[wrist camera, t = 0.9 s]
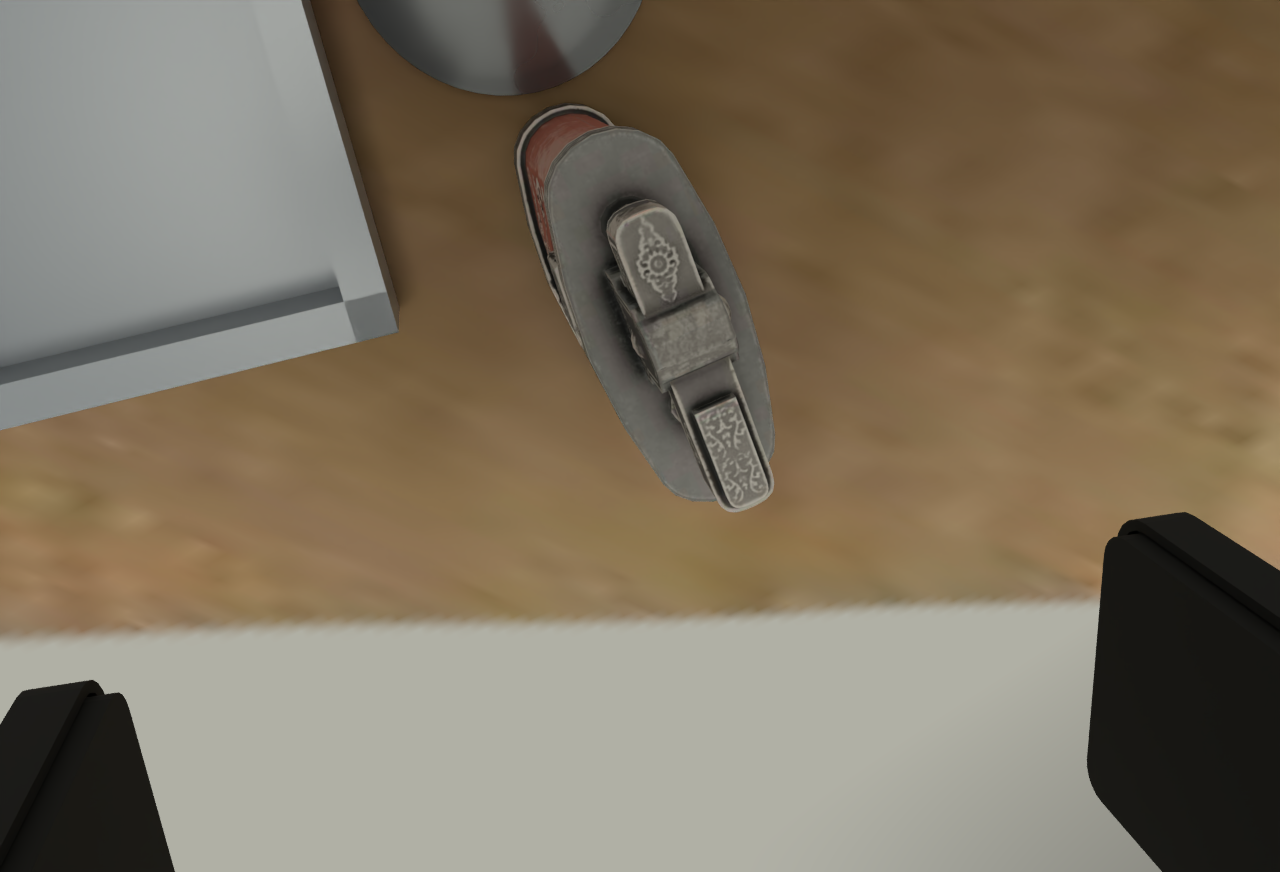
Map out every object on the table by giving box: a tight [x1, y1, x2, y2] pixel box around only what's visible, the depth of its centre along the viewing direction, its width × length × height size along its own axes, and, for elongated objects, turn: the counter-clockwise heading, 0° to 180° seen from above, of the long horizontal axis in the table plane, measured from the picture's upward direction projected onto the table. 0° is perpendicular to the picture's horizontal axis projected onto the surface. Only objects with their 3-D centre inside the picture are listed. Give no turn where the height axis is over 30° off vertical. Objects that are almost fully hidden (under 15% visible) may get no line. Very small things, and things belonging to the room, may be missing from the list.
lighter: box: [514, 103, 775, 512], centre depth 25 cm, size 8×3×10 cm, turn 21°
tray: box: [0, 0, 399, 430], centre depth 24 cm, size 11×14×2 cm
